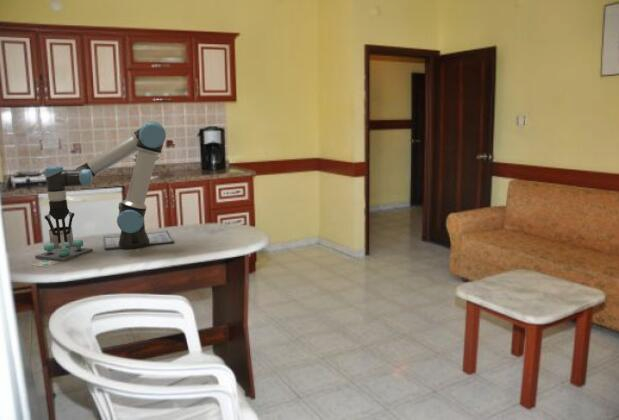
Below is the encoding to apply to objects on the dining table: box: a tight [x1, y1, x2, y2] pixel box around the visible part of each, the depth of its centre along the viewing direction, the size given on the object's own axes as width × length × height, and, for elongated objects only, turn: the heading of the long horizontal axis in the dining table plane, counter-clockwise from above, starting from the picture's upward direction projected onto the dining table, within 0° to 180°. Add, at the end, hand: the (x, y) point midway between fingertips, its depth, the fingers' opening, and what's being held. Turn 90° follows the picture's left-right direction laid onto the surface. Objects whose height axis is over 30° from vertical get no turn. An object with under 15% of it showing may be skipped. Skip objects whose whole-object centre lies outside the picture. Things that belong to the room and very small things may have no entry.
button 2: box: [58, 248, 69, 257], centre depth 245 cm, size 5×5×4 cm
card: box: [31, 260, 60, 268], centre depth 238 cm, size 8×8×1 cm
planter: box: [48, 225, 74, 249], centre depth 266 cm, size 11×11×10 cm
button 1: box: [72, 239, 84, 249], centre depth 253 cm, size 5×5×4 cm
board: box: [34, 246, 94, 263], centre depth 251 cm, size 18×18×2 cm
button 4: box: [43, 242, 55, 253], centre depth 248 cm, size 5×5×4 cm
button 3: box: [59, 242, 70, 249], centre depth 257 cm, size 5×5×4 cm
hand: (63, 248), depth 245 cm, fingers closed
